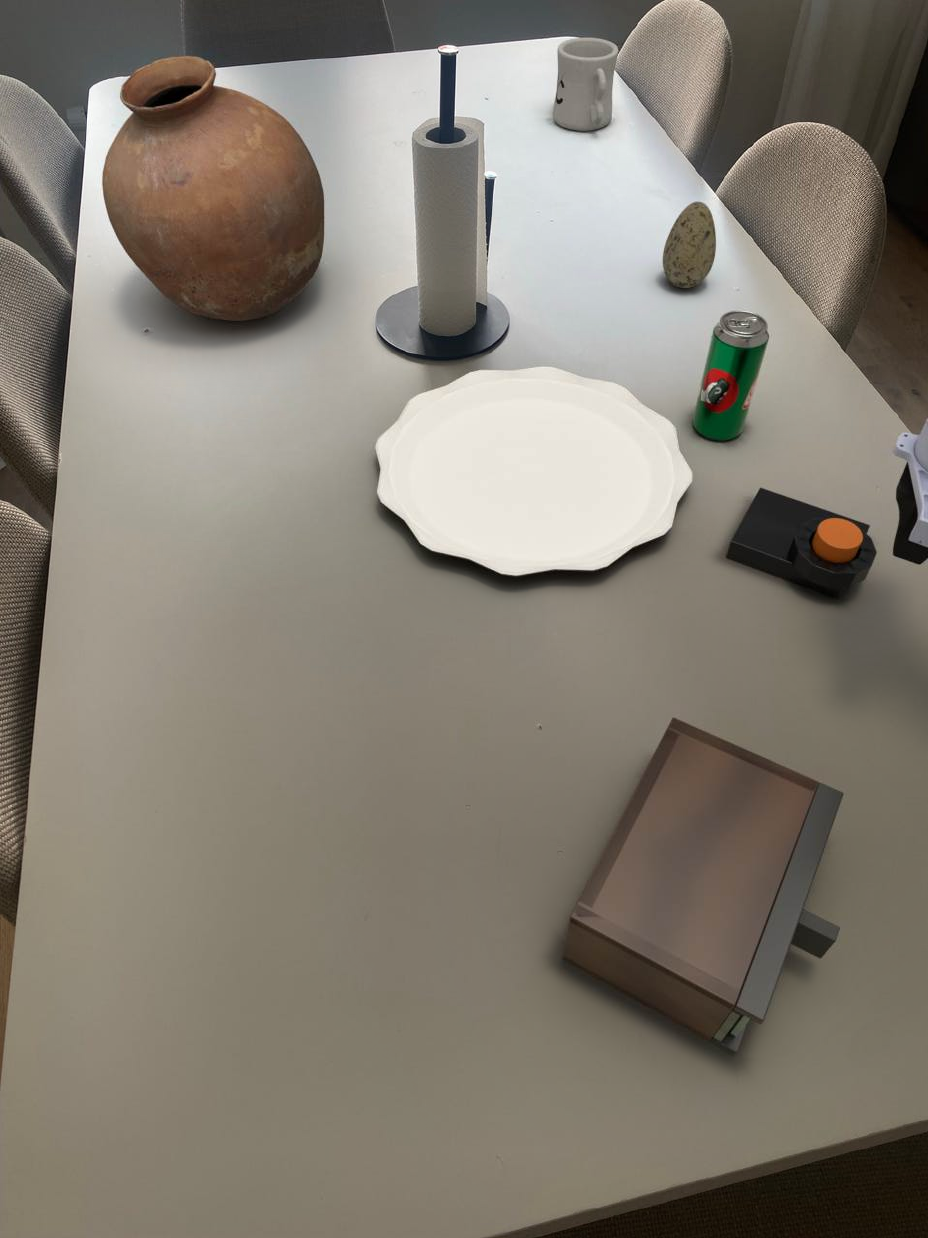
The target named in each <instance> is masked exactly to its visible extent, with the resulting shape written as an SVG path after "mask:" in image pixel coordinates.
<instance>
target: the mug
mask: <svg viewBox="0 0 928 1238" xmlns="http://www.w3.org/2000/svg"><path fill="white" fill-rule="evenodd" d="M556 51H557V80H556V91H555V98H554V104H553V107H552V117H553V121H554V122H555V123H556V124H557V125H559V126H560V127H562V128H564V129H567V130H571V131H578V132H579V131H581V132H585V131H586V132H588V131H596V130H600V129H602V128H604V127H605V126H607V125H608V124H609V123H610V122H611V120H612V117H613V87H614V75H615V69H616V66H617V60H618V55H619V47H618V46H617V45H616V44H615V43H614V42H612V41H609V40H607V39H604V38H603V39H602V38H597V37H575V38H570V39H567V40H564V41H562V42H561V43H560V44H559V45H558V46H557V49H556Z"/></svg>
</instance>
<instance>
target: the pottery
mask: <svg viewBox="0 0 928 1238" xmlns="http://www.w3.org/2000/svg"><path fill="white" fill-rule="evenodd" d="M216 77H217V72H216V68H215V66H214V65H213V64H212V63H211V62H210V61H209V60H205V59H204V58H201V57H199V56H191V55H182V56H171V57H166V58H162V59H157V60H155V61H153V62H151V63H149V64H146V65H144V66H142V67H140V68H138V69H136V70H135V71H134V72H133V73H132V74H130V75H129V77H128V78H127V79H126V80H125V81H124V82H123V83H122V85H121V88H120V91H119V93H120V94H119V99H120V102H121V103H122V104H123V105H124V106H125V107H126V108H127V109H128V110H129V111H131V112H132V113H131V114H130V115H129V117H128V118H127V119H126V120H125V121H124V122H123V124H122V126H121V127H120V129H119V130H118V132H117V134H116V136H115V137H114V139H113V141H112V143H111V145H110V146H109V148H108V150H107V153H106V156H105V159H104V165H103V169H102V176H101V177H102V178H101V179H102V180H101V186H102V194H103V195H102V196H103V200H104V206H105V209H106V213H107V216H108V219H109V223H110V225H111V227H112V229H113V233H114V234H115V236H116V238H117V240H118V242H119V244H120V245H121V247H122V249H123V250H124V252H125V253H126V254H127V255H128V257H129V258H130V259H131V261H132V262H133V264H134V265H135V266H136V267H137V268H138V270H140V271H141V273H142V274H143V275H144V276H145V277H146V278H147V279H148V281H150V283H152V285H154V287H155V288H156V289H157V290H158V291H159V292H160V293H161V294H162V295H163V296H164V297H165V298H166V299H168V300H169V301H170V302H172V303H173V304H174V305H176V306H177V307H179V308H181V309H183V310H185V311H187V312H190V313H193V314H196V315H198V316H202V317H205V318H208V319H215V320H222V321H231V322H241V321H250V320H255V319H262V318H265V317H267V316H269V315H272V314H275V313H276V312H278V311H279V310H280V309H281V308H284V306H286V305H288V304H289V303H290V302H291V301H292V300H293V299H295V298H296V297H297V296H298V295H299V294H301V292H302V291H303V290H304V289H305V288H306V287H307V286H308V284H309V283H310V282H311V281H312V279H313V277H314V276H315V274H316V272H317V270H318V268H319V266H320V263H321V260H322V257H323V252H324V251H323V250H324V244H325V193H324V187H323V182H322V178H321V175H320V172H319V170H318V167H317V165H316V163H315V160H314V158H313V156H312V154H311V152H310V150H309V148H308V147H307V145H306V143H305V141H304V140H303V138H302V137H301V135H300V133H298V131H297V130H296V129H295V128H294V126H293V125H292V124H291V123H290V121H288V119H286V118H285V117H284V116H283V115H282V114H280V113H279V112H278V111H276V110H275V109H273V108H272V107H270V105H268V104H266V103H264V102H262V101H260V100H259V99H257V98H254V97H253V96H251V95H248V94H246V93H243V92H242V91H238V90H235V89H232V88H227V87H224V86H218V85H215V80H216Z"/></svg>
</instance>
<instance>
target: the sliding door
mask: <svg viewBox="0 0 928 1238" xmlns="http://www.w3.org/2000/svg"><path fill="white" fill-rule="evenodd" d="M840 929H841V927H840V926H839V925H837V924H834V923H833V922H830V921H828V920H826V919H824V918H822V917H820V916H819V915H816V914H814V913H812V912H810V911H808V910H806V909H804V908H803V911H802V914H801V917H800V920H799V922H798V925H797V928H796V931H795V934H794V937H793V939H792V942H791V946H794V947H796V948H798V949H799V950H802V951H804V952H806V953H808V954H810V955H812V956H814V957H816V958H817V959H823V957H824V956H825V955H826V953H827V952H828V951H829V950H830V948H831V947H832V946H833V945H834V944H835V943H836V941H837V938H838V936H839V932H840ZM750 1020H751V1019H749V1018H748V1017H746V1016H744V1015H742V1014H741V1015H740V1017H739V1018H738V1019H737V1021H736V1022H735V1023H734V1025H733V1027H732V1030H731V1034H733V1035H734V1036H737V1035H738V1034H739V1033H740V1032H741V1030H742V1029H743V1028H744V1026H745V1025H746V1024H747V1022H748V1021H749V1022H750Z"/></svg>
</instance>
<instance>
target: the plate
mask: <svg viewBox="0 0 928 1238" xmlns="http://www.w3.org/2000/svg"><path fill="white" fill-rule="evenodd" d="M374 449H375V452H376V457H377V461H378V464H379V469H380V471H379V477H378V484H377V489H376V495H377V497H378V499H379V501H380V504H381V505H382V506H384V507H385V508H386V509H388V510H389V511H390V512H392V513H393V514H394V515H395V516H397V517H398V518H399V519H401V521H403V522H404V523H405V525H406V526H407V527H408V529H409V530H410V532H411V533H412V534H413V536H414V538H415V539H416V540H417V542H418V543H419V545H420V546H421V547H423V548H425V549H426V550H428V551H430V552H431V553H435V554H439V555H443V556H448V557H454V558H457V559H461V560H467V561H470V562H472V563H474V564H477V565H478V566H480V567H482V568H485V569H487V570H489V571H492V572H494V573H495V574H498V575H500V576H505V577H514V578H519V577H525V576H531V575H536V574H541V573H547V572H553V571H560V572H561V571H562V572H597V571H600V570H604V569H607V568H609V567H610V566H611V565H612V564H614V563H615V562H616V561H618V560H619V559H621V558H622V557H623V556H624V555H626V554H627V553H629V552H630V551H631V550H632V549H634V548H638V547H640V546H643V545H645V544H648V543H650V542H653V541H655V540H657V539H659V538H662V537H664V536H665V535H666V534H667V533H668V532H669V531H670V530H671V529H672V527H673V524H674V519H675V515H676V510H677V506H678V503H679V501H680V500H681V499H682V497H683V496H684V494H685V493H686V492H687V490H688V489H689V487H690V486H691V484H692V483H693V470H692V469H691V467H690V466H689V464H688V463H687V460H686V458H685V457H684V456H683V454H682V452H681V450H680V446H679V440H678V434H677V428H676V426H675V425H674V423H672V422H671V421H670V419H668V418H666V417H664V416H663V415H661V414H659V413H657V412H656V411H654V410H652V409H651V408H649V407H647V406H646V405H644V404H643V403H642V402H641V401H640V400H639V399H637V398H636V396H634V395H633V394H632V392H630V391H629V390H628V389H627V388H626V387H624V386H622V385H620V384H618V383H616V382H611V381H606V380H602V379H601V380H600V379H594V378H589V377H583V376H580V375H578V374H575V373H573V372H569V371H567V370H564V369H560V368H558V367H555V366H554V367H553V366H543V365H542V366H534V367H529V368H521V369H513V370H509V369H507V370H506V369H505V370H502V369H501V370H500V369H499V370H498V369H479V370H474V371H470V372H468V373H466V374H464V375H463V376H461V377H459V378H457V379H455V380H453V381H452V382H450V383H448V384H446V385H443V386H441V387H437V388H434V389H431V390H428V391H425V392H421V393H418V394H416V395H415V396H413V397H412V398H410V399H409V400H408V401H407V403H406V405H405V407H404V408H403V410H402V412H401V413H400V415H399V417H398V419H397V420H396V421H395V422H394V423H393V424H392V425H391V426H390V427H389V428H388V429H387V430H385V431H384V432H383V433H382V434H381V435H380V436H379V437H378V438H377V441H376V444H375V445H374Z"/></svg>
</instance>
